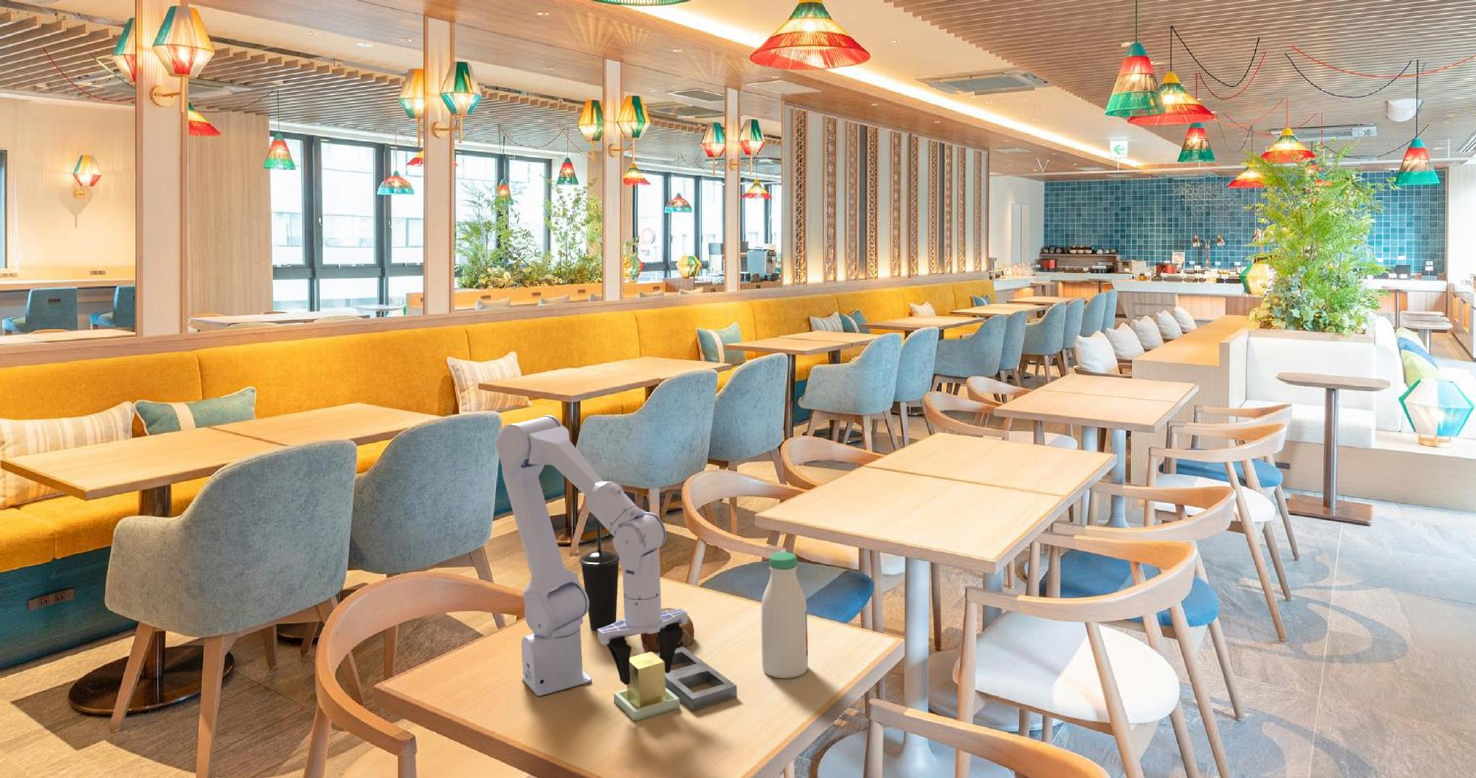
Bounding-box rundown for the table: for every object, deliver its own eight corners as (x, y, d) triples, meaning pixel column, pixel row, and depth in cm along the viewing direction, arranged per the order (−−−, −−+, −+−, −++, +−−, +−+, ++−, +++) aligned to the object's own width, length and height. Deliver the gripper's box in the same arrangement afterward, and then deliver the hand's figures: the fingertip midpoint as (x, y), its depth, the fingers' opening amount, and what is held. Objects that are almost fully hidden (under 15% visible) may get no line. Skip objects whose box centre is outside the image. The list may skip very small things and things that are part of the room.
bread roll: (697, 653, 176) (698, 609, 178) (689, 652, 166) (690, 606, 169) (644, 653, 177) (646, 609, 179) (633, 651, 167) (635, 605, 170)
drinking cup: (575, 632, 178) (570, 529, 175) (593, 616, 185) (588, 517, 182) (613, 636, 176) (608, 531, 173) (629, 620, 183) (625, 520, 180)
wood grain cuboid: (639, 711, 146) (638, 668, 145) (627, 700, 150) (625, 658, 149) (666, 703, 148) (664, 661, 147) (653, 692, 152) (651, 651, 151)
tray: (635, 721, 144) (634, 711, 144) (614, 701, 150) (613, 692, 150) (679, 707, 148) (679, 698, 148) (657, 688, 154) (657, 680, 154)
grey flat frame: (692, 711, 147) (692, 698, 146) (641, 668, 162) (641, 657, 162) (736, 697, 151) (736, 685, 151) (683, 657, 166) (682, 646, 166)
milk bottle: (804, 681, 156) (803, 564, 153) (758, 678, 157) (756, 562, 154) (810, 661, 163) (809, 549, 160) (766, 658, 165) (764, 547, 162)
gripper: (609, 611, 139) (613, 698, 141) (695, 590, 147) (698, 673, 149) (590, 597, 145) (594, 680, 147) (674, 578, 153) (677, 657, 155)
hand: (645, 676), depth 148 cm, fingers open, 6 cm apart
